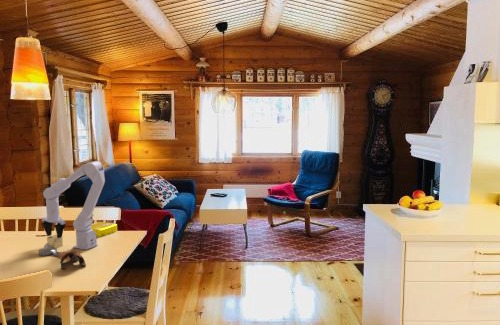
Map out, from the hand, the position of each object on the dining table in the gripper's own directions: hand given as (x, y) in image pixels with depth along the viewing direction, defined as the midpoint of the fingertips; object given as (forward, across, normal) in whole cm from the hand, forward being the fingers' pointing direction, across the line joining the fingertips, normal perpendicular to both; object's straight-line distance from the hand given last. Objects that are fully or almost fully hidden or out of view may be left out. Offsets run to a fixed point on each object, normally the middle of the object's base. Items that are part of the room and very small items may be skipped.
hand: (54, 236), depth 206 cm
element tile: (+6, -2, -28) cm, 29 cm away
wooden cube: (+5, 0, 0) cm, 5 cm away
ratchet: (+5, -13, +9) cm, 16 cm away
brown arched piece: (+5, -32, +17) cm, 37 cm away
